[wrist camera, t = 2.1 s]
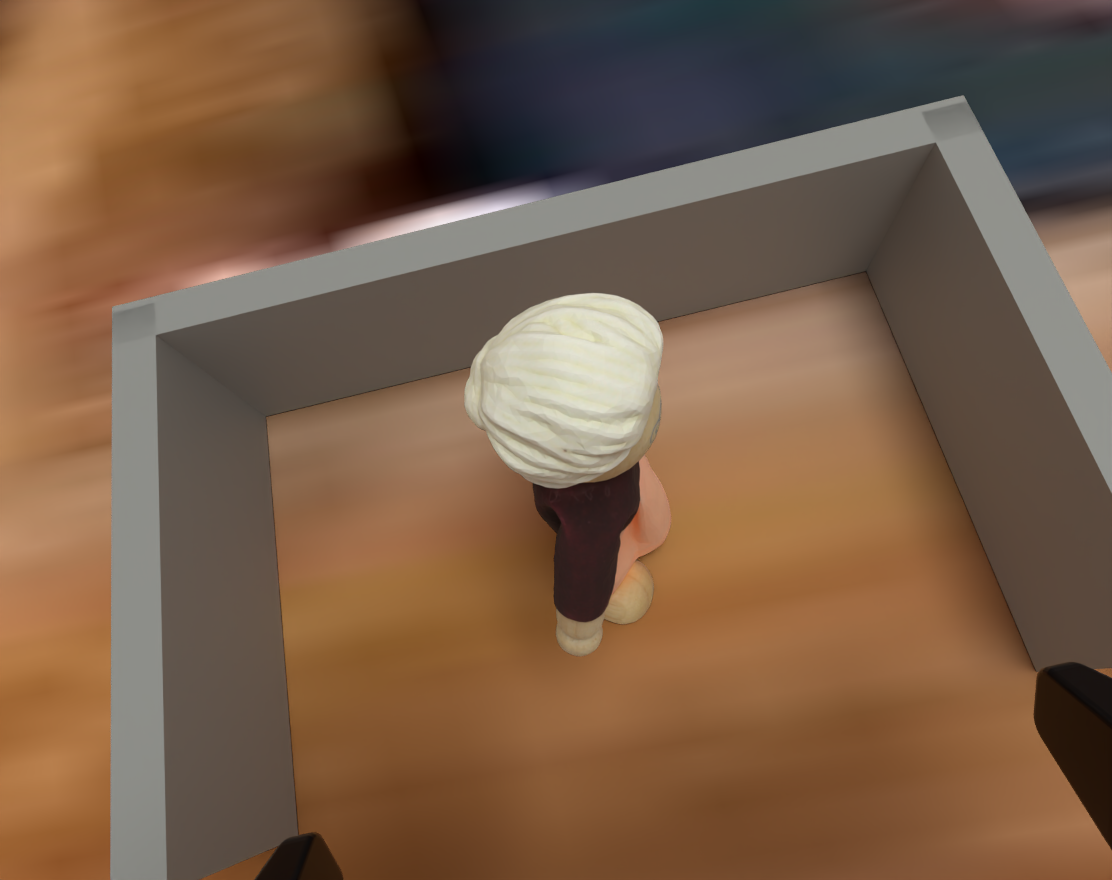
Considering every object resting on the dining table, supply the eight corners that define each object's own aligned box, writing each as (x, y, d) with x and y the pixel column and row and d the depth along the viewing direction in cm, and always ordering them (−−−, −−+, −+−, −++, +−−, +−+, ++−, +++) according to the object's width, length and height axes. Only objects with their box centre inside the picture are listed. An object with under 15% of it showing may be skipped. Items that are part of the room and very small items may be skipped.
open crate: (1080, 662, 20) (1259, 649, 14) (257, 846, 20) (110, 905, 15) (888, 232, 24) (963, 95, 19) (230, 393, 25) (112, 306, 19)
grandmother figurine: (697, 647, 21) (777, 587, 9) (566, 670, 21) (471, 642, 9) (643, 403, 23) (648, 104, 11) (526, 426, 24) (413, 153, 12)
